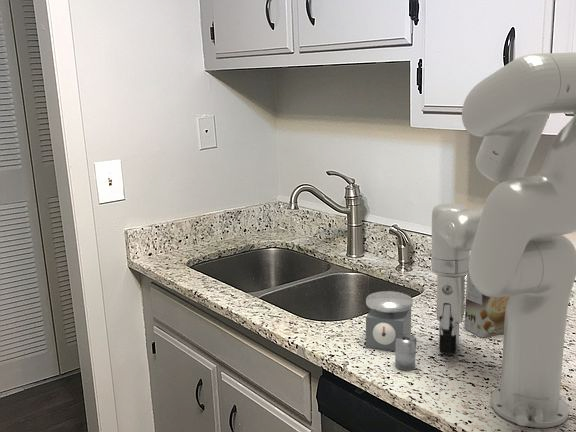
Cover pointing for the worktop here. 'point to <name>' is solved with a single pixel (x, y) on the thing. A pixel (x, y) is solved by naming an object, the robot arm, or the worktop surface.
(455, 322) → the cylinder
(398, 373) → the worktop surface
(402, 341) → the cylinder
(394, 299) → the pan
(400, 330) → the scale
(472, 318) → the printed food package
